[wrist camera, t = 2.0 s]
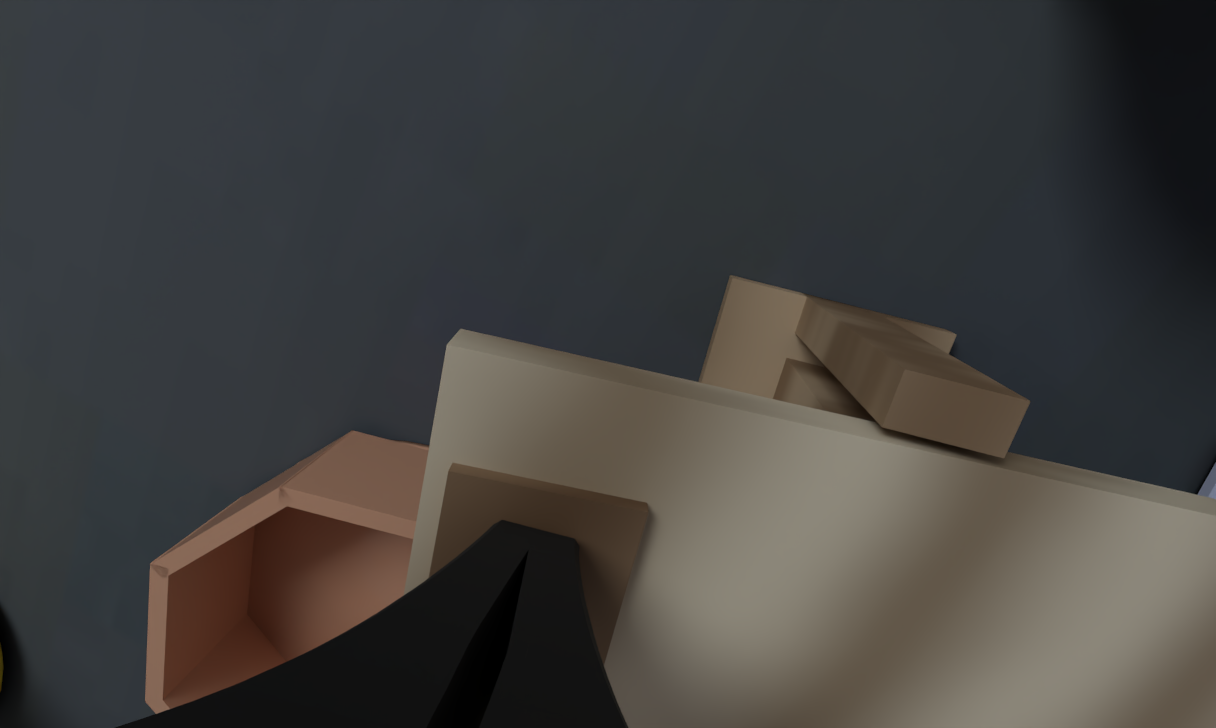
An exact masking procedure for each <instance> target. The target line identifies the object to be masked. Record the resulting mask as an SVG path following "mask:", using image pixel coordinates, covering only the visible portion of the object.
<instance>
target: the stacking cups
mask: <svg viewBox="0 0 1216 728" xmlns="http://www.w3.org/2000/svg"><path fill="white" fill-rule="evenodd" d="M2 677H3V656H2V649H1V644H0V691H1V685H2Z"/></svg>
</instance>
